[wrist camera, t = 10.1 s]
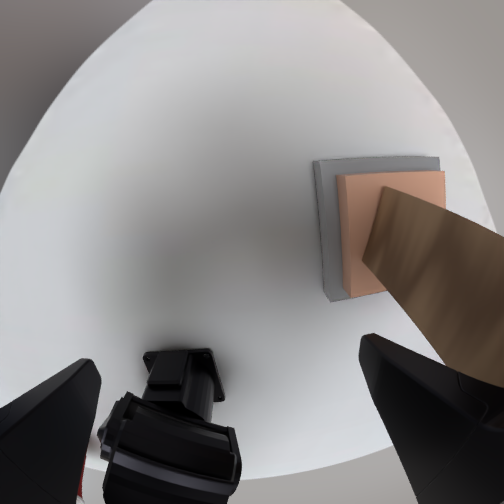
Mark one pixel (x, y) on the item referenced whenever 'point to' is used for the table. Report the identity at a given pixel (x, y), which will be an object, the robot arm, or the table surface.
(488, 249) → the walnut post
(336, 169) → the pedestal
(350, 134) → the table surface
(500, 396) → the robot arm
